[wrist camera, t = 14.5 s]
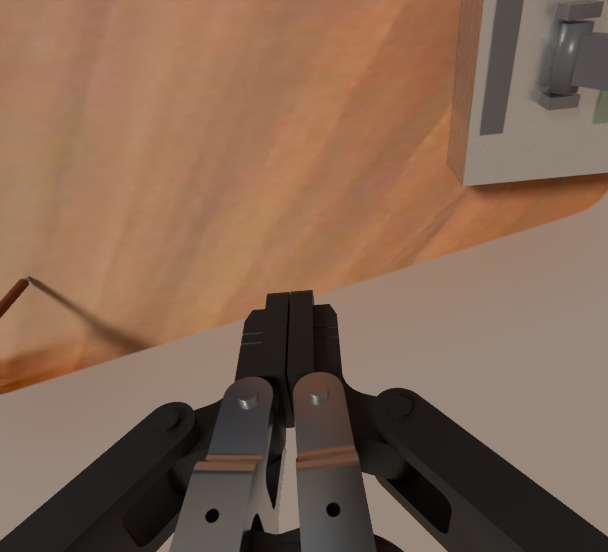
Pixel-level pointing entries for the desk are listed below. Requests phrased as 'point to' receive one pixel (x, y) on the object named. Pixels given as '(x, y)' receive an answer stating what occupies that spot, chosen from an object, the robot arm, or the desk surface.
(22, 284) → the magnifying glass
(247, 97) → the desk surface
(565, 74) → the breaker lever
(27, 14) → the desk surface
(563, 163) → the breaker box
